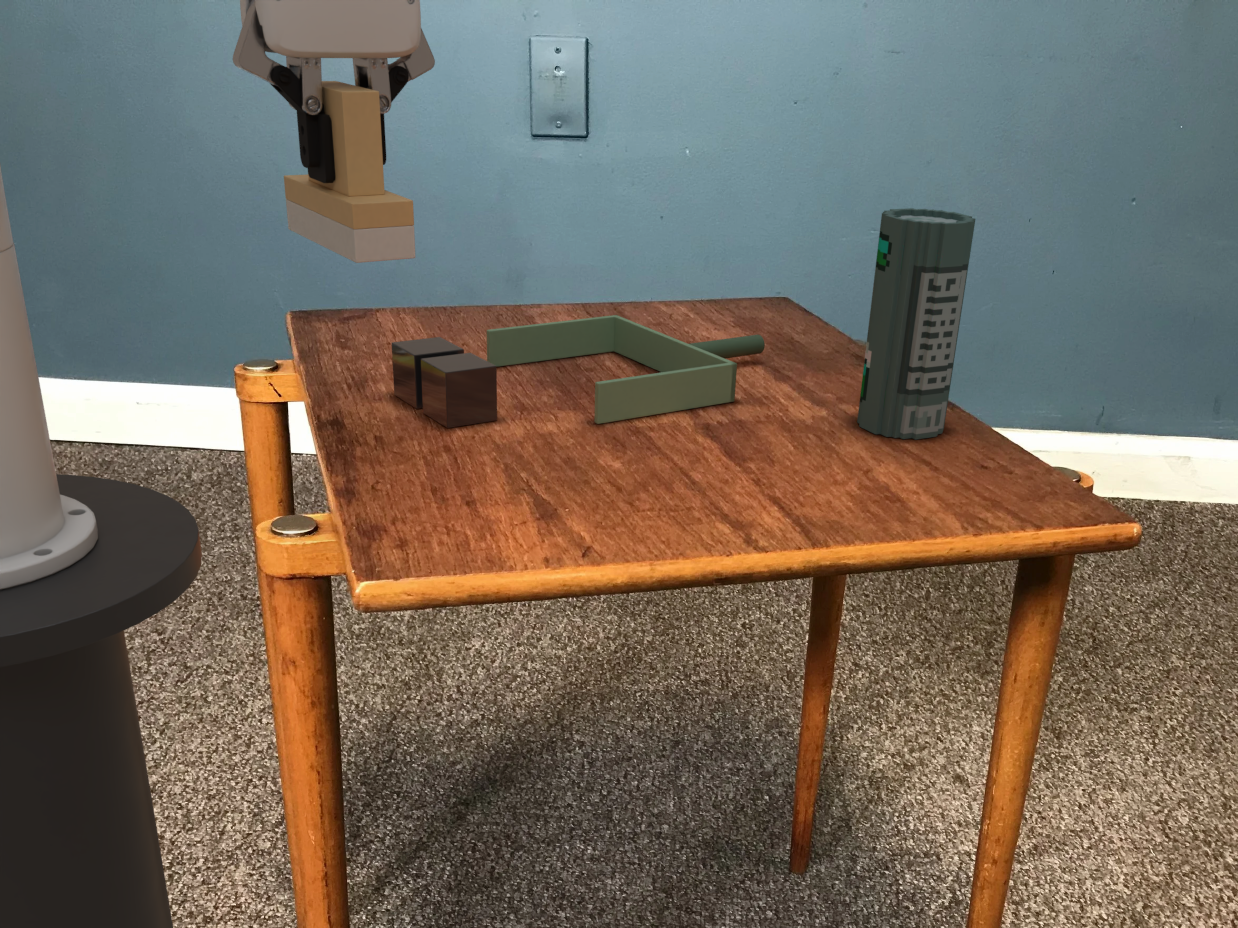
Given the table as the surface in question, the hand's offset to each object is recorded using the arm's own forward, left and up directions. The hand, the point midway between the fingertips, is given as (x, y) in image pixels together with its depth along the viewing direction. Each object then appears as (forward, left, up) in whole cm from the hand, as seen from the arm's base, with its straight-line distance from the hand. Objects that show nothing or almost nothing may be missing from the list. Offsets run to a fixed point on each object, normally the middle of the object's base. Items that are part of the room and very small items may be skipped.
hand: (344, 176), depth 83 cm
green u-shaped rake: (+26, +1, -17) cm, 31 cm away
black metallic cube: (+7, +4, -17) cm, 19 cm away
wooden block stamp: (0, 0, -4) cm, 4 cm away
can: (+35, -18, -17) cm, 43 cm away
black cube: (+7, -1, -17) cm, 18 cm away
